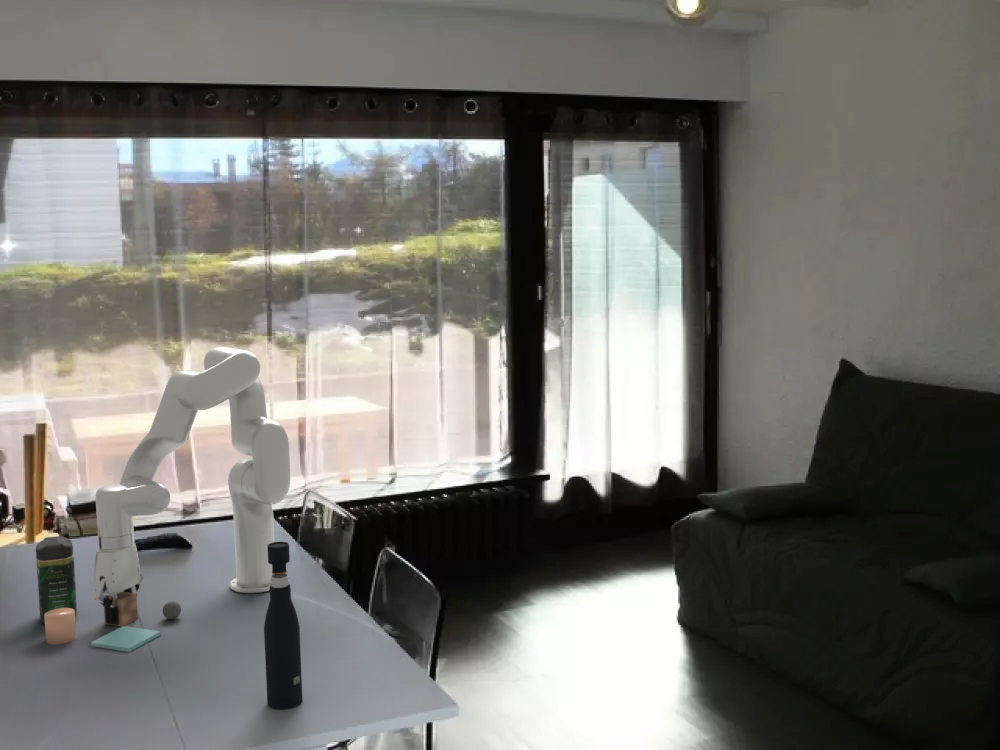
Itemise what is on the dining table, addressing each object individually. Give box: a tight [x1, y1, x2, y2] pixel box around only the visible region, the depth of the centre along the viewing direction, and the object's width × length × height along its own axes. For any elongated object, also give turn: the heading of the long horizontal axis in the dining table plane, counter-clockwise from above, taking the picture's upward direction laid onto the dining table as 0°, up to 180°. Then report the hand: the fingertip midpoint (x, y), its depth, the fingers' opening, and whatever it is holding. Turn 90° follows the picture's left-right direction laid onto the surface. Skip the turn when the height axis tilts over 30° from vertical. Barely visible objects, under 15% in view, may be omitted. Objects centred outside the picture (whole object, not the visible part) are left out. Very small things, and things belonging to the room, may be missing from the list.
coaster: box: [90, 625, 162, 653], centre depth 227 cm, size 10×10×1 cm
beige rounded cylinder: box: [44, 608, 77, 646], centre depth 228 cm, size 6×6×6 cm
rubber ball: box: [162, 600, 182, 620], centre depth 239 cm, size 4×4×4 cm
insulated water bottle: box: [263, 541, 303, 710], centre depth 193 cm, size 6×6×30 cm
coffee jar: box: [35, 535, 78, 625], centre depth 240 cm, size 10×8×19 cm
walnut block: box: [103, 591, 139, 627], centre depth 238 cm, size 5×5×6 cm
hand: (121, 618), depth 238 cm, fingers closed on walnut block, 5 cm apart
